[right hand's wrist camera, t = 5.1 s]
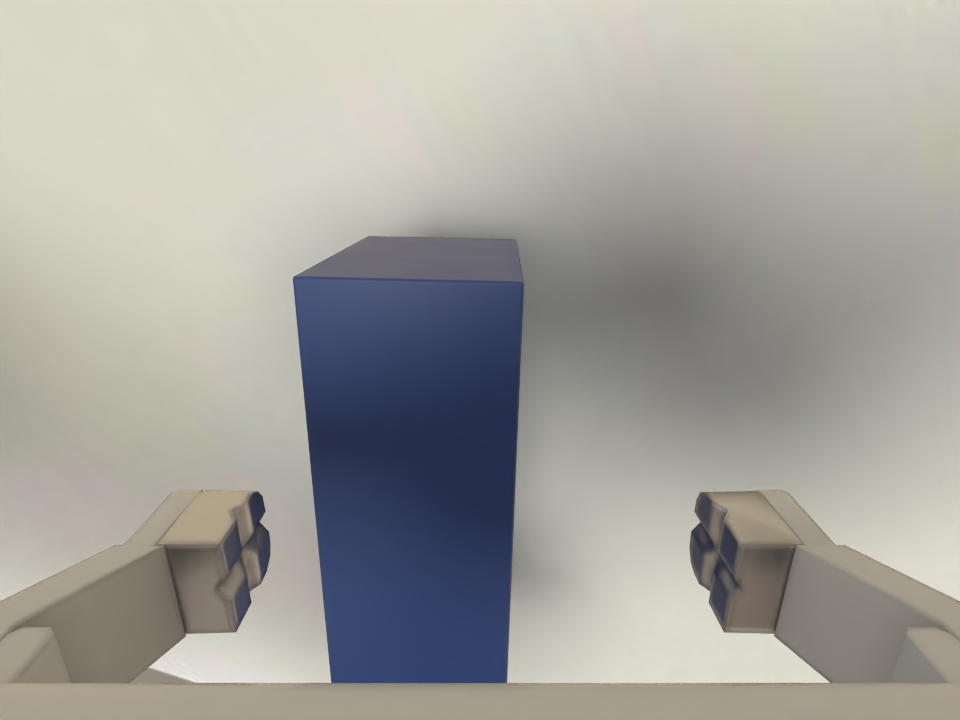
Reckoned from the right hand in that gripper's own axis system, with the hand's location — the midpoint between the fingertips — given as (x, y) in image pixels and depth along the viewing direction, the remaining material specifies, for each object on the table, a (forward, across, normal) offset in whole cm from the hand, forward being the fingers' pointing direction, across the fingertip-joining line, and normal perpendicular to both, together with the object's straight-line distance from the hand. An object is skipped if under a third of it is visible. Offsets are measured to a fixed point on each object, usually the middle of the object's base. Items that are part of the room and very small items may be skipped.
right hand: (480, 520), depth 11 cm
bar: (+12, -2, -8) cm, 14 cm away
